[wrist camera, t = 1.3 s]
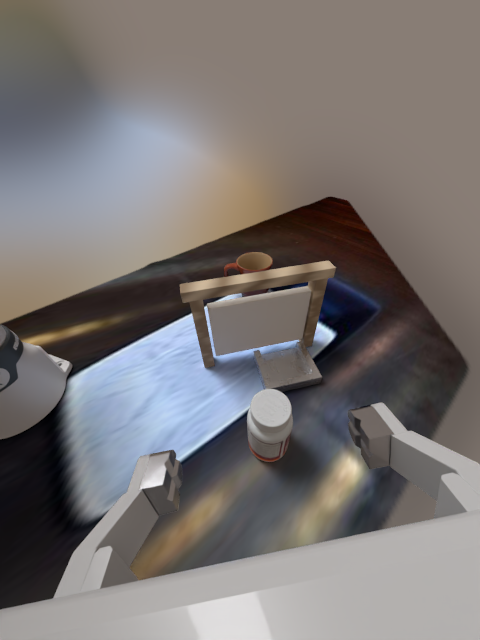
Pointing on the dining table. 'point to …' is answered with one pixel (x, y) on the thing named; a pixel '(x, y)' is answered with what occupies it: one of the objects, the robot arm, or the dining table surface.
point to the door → (258, 320)
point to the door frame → (251, 282)
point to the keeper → (287, 369)
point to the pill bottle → (269, 425)
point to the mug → (251, 267)
